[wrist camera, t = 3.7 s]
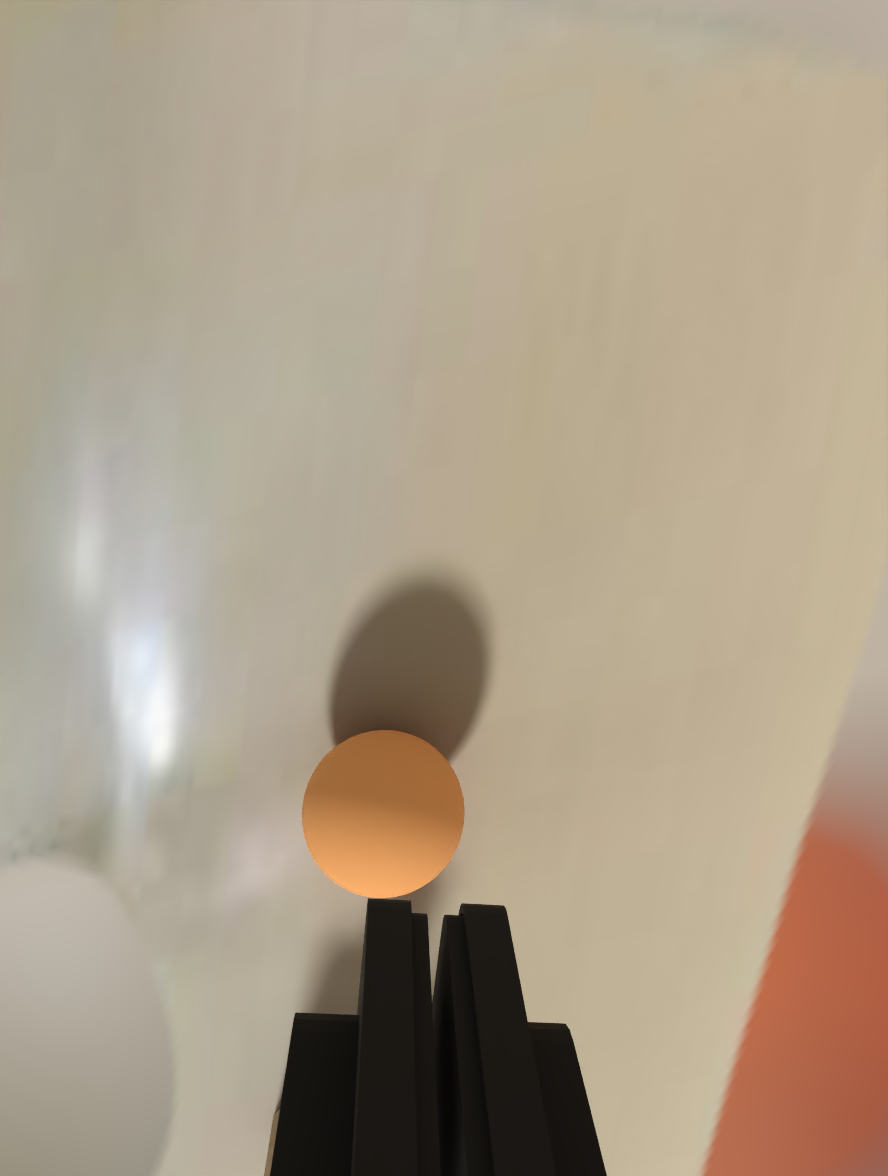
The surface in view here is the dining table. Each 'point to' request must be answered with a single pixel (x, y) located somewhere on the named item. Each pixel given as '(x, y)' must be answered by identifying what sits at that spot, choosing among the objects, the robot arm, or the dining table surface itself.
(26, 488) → the dining table surface
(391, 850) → the ball
